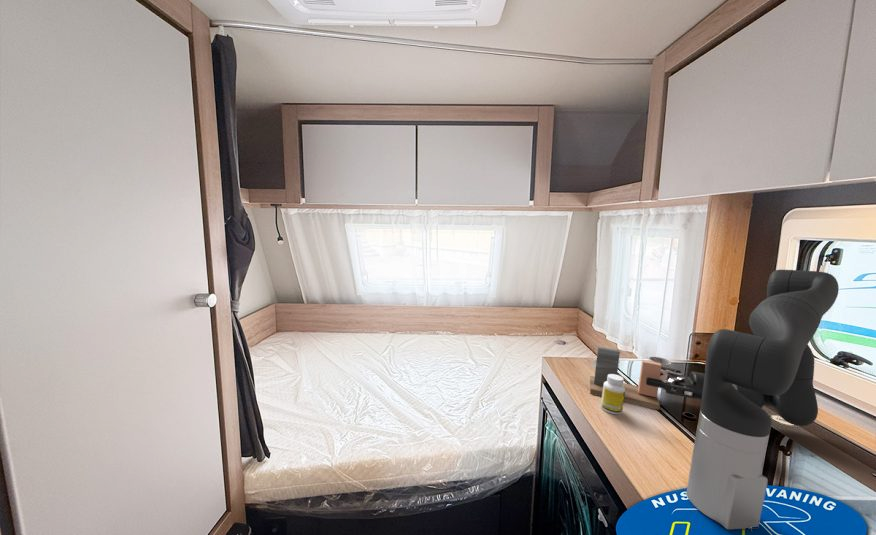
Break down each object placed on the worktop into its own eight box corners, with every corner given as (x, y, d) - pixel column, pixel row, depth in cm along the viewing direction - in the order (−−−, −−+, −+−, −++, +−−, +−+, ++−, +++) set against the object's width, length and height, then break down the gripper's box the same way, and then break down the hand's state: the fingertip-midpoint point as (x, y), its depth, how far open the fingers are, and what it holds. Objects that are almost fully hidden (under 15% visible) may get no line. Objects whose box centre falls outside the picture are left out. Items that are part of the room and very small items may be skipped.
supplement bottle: (625, 416, 87) (629, 382, 86) (603, 413, 88) (608, 380, 87) (618, 405, 93) (622, 374, 91) (598, 402, 94) (602, 371, 92)
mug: (673, 384, 108) (675, 365, 107) (651, 381, 109) (654, 363, 108) (657, 371, 118) (660, 354, 117) (638, 369, 119) (640, 352, 118)
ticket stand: (659, 409, 91) (665, 365, 90) (590, 393, 99) (595, 351, 97) (652, 394, 100) (658, 353, 99) (589, 380, 108) (594, 341, 106)
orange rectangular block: (656, 397, 95) (661, 365, 94) (638, 393, 97) (643, 362, 95) (655, 394, 97) (660, 363, 95) (637, 390, 99) (642, 359, 97)
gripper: (704, 366, 96) (641, 355, 103) (723, 387, 83) (649, 372, 90) (700, 389, 97) (638, 377, 104) (718, 413, 84) (646, 397, 91)
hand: (644, 374), depth 97 cm, fingers open, 8 cm apart
